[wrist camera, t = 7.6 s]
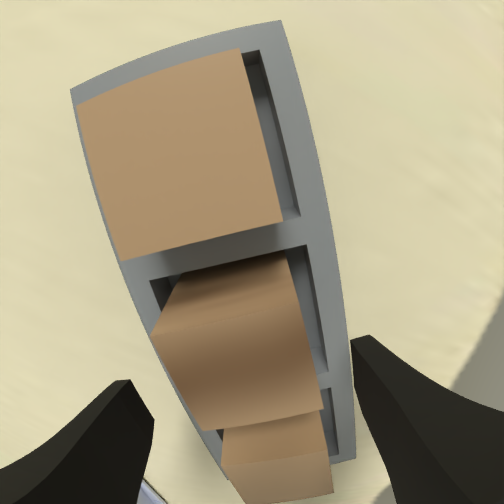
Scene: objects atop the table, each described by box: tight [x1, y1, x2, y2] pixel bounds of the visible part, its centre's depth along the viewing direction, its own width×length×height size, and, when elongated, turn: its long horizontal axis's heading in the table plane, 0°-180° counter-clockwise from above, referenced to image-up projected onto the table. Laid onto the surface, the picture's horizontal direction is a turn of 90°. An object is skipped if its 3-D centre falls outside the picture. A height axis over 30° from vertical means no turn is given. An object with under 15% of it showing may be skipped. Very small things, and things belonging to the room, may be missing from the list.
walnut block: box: [150, 250, 324, 431], centre depth 12 cm, size 4×4×5 cm
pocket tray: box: [70, 20, 356, 504], centre depth 12 cm, size 22×8×6 cm, turn 14°
